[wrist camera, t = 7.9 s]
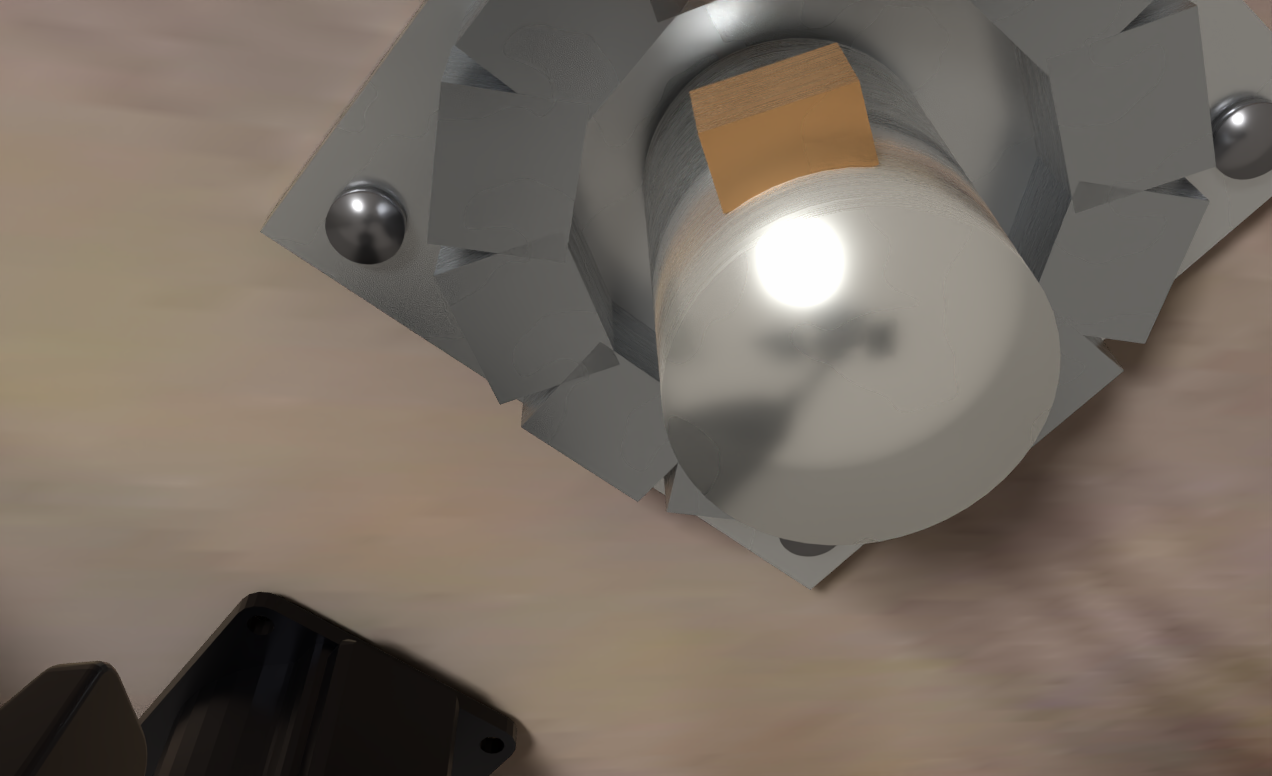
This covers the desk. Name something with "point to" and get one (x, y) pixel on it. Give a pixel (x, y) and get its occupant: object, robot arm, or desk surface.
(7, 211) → the desk surface
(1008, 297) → the silver metal cylinder
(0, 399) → the desk surface
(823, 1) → the duct flange
